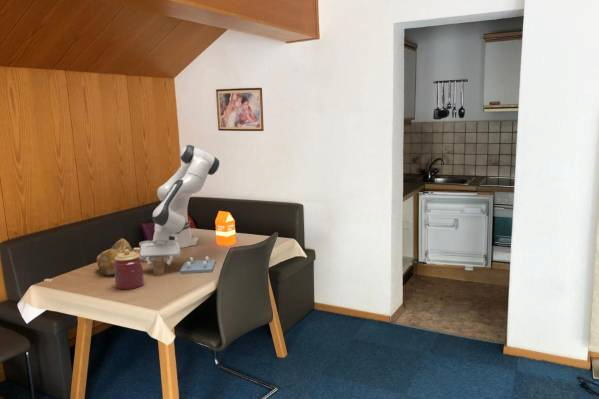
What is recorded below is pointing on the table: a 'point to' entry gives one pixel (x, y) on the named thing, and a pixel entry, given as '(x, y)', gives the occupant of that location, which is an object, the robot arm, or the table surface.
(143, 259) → the mug
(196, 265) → the peg seat
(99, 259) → the rough brown rock
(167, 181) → the robot arm
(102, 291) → the table surface
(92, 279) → the table surface
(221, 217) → the orange juice
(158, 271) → the walnut block
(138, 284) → the canister
